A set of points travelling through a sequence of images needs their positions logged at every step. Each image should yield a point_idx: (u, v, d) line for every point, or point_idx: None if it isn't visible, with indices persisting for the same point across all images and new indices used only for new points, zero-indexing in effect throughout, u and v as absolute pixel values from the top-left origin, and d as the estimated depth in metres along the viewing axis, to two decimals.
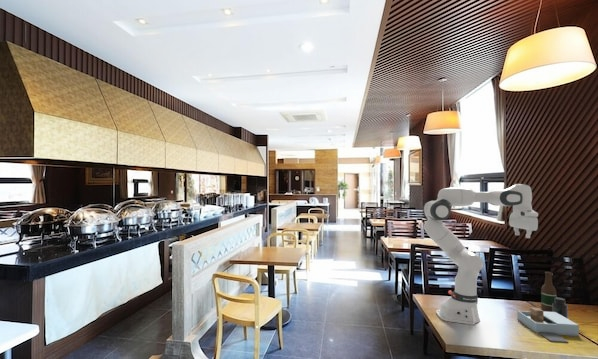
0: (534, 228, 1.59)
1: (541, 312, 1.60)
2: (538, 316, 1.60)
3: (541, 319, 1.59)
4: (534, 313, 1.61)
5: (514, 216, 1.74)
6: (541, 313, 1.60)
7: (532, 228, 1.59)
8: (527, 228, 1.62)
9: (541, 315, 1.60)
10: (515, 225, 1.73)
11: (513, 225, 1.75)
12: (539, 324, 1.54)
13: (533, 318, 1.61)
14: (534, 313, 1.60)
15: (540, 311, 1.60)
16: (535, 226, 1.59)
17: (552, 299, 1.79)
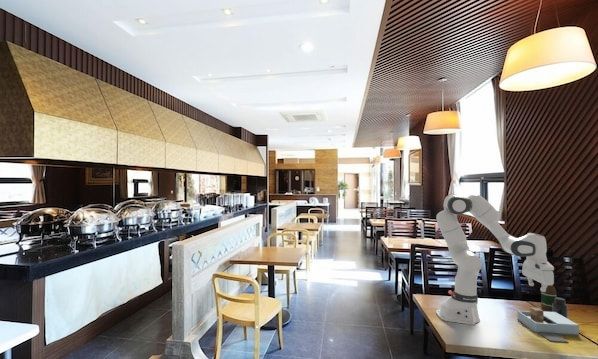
0: (550, 283, 1.52)
1: (541, 312, 1.60)
2: (538, 316, 1.60)
3: (541, 319, 1.59)
4: (534, 313, 1.61)
5: (528, 266, 1.67)
6: (541, 313, 1.60)
7: (548, 283, 1.52)
8: (542, 282, 1.55)
9: (541, 315, 1.60)
10: (529, 275, 1.66)
11: (527, 275, 1.68)
12: (539, 324, 1.54)
13: (533, 318, 1.61)
14: (534, 313, 1.60)
15: (540, 311, 1.60)
16: (551, 280, 1.52)
17: (552, 299, 1.79)
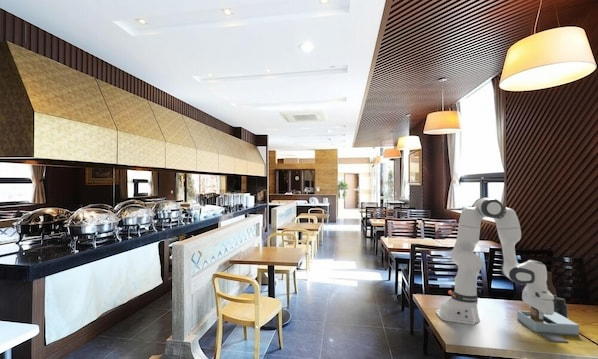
0: (550, 312, 1.52)
1: None
2: None
3: (541, 319, 1.59)
4: (534, 313, 1.61)
5: (528, 292, 1.66)
6: None
7: (548, 313, 1.52)
8: (542, 311, 1.55)
9: None
10: (529, 302, 1.65)
11: (527, 302, 1.67)
12: (539, 324, 1.54)
13: (533, 318, 1.61)
14: (534, 313, 1.60)
15: None
16: (551, 310, 1.52)
17: None
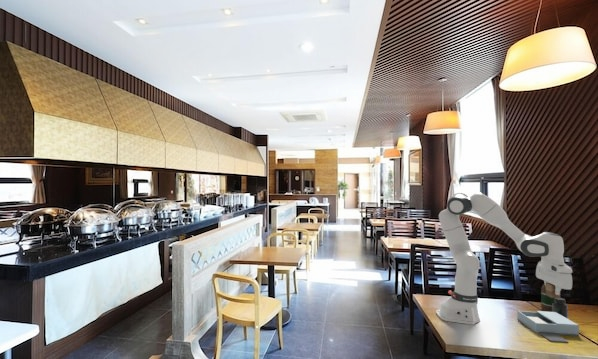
0: (568, 287, 1.40)
1: None
2: None
3: (558, 295, 1.48)
4: (550, 289, 1.49)
5: (542, 268, 1.55)
6: None
7: (566, 287, 1.40)
8: (559, 286, 1.43)
9: None
10: (544, 278, 1.53)
11: (541, 277, 1.55)
12: (539, 324, 1.54)
13: (549, 294, 1.50)
14: (550, 289, 1.48)
15: None
16: (569, 284, 1.40)
17: (552, 299, 1.79)
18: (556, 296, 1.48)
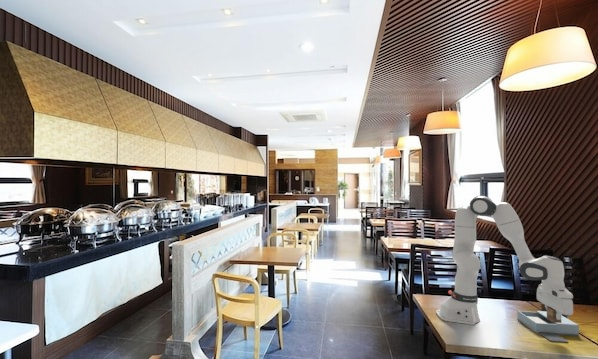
0: (569, 312, 1.39)
1: None
2: None
3: (559, 320, 1.47)
4: (551, 313, 1.48)
5: (543, 291, 1.54)
6: None
7: (567, 313, 1.40)
8: (560, 311, 1.42)
9: None
10: (544, 302, 1.53)
11: (542, 301, 1.55)
12: (539, 324, 1.54)
13: (550, 319, 1.49)
14: (551, 314, 1.48)
15: None
16: (570, 310, 1.40)
17: None
18: (557, 321, 1.47)
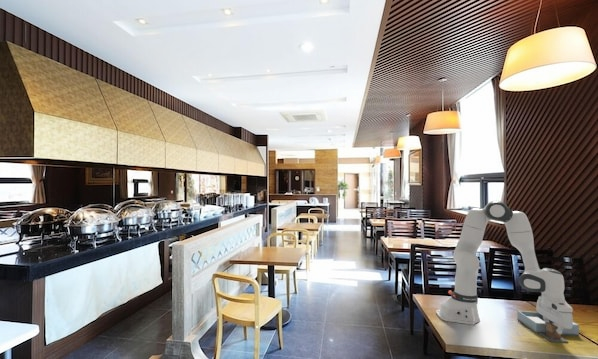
0: (569, 326, 1.39)
1: None
2: (555, 333, 1.47)
3: (558, 336, 1.47)
4: (550, 329, 1.48)
5: (543, 303, 1.54)
6: None
7: (566, 327, 1.39)
8: (560, 324, 1.42)
9: None
10: (544, 314, 1.53)
11: (541, 313, 1.55)
12: (539, 324, 1.54)
13: (549, 335, 1.49)
14: (551, 330, 1.48)
15: (557, 327, 1.47)
16: (570, 324, 1.39)
17: None
18: (556, 337, 1.47)
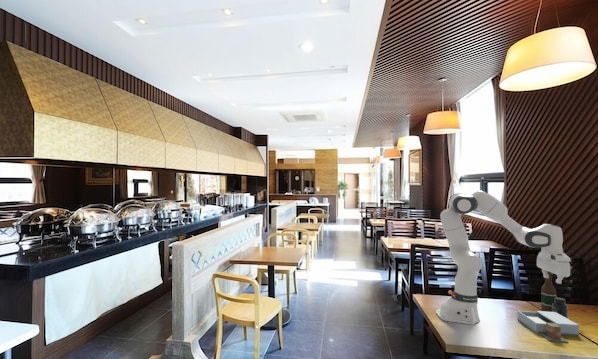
0: (566, 274, 1.49)
1: (558, 328, 1.47)
2: (555, 333, 1.47)
3: (558, 336, 1.47)
4: (550, 329, 1.48)
5: (542, 257, 1.63)
6: (558, 329, 1.47)
7: (564, 275, 1.49)
8: (558, 273, 1.51)
9: (558, 332, 1.47)
10: (544, 267, 1.62)
11: (541, 267, 1.64)
12: (539, 324, 1.54)
13: (549, 335, 1.49)
14: (551, 330, 1.48)
15: (557, 327, 1.47)
16: (567, 272, 1.49)
17: (552, 299, 1.79)
18: (556, 337, 1.47)
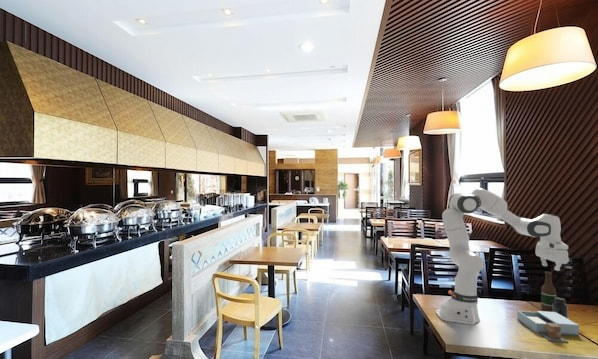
0: (564, 261, 1.55)
1: (558, 328, 1.47)
2: (555, 333, 1.47)
3: (558, 336, 1.47)
4: (550, 329, 1.48)
5: (541, 246, 1.70)
6: (558, 329, 1.47)
7: (563, 262, 1.55)
8: (557, 261, 1.58)
9: (558, 332, 1.47)
10: (542, 256, 1.69)
11: (540, 255, 1.71)
12: (539, 324, 1.54)
13: (549, 335, 1.49)
14: (551, 330, 1.48)
15: (557, 327, 1.47)
16: (565, 259, 1.55)
17: (552, 299, 1.79)
18: (556, 337, 1.47)
